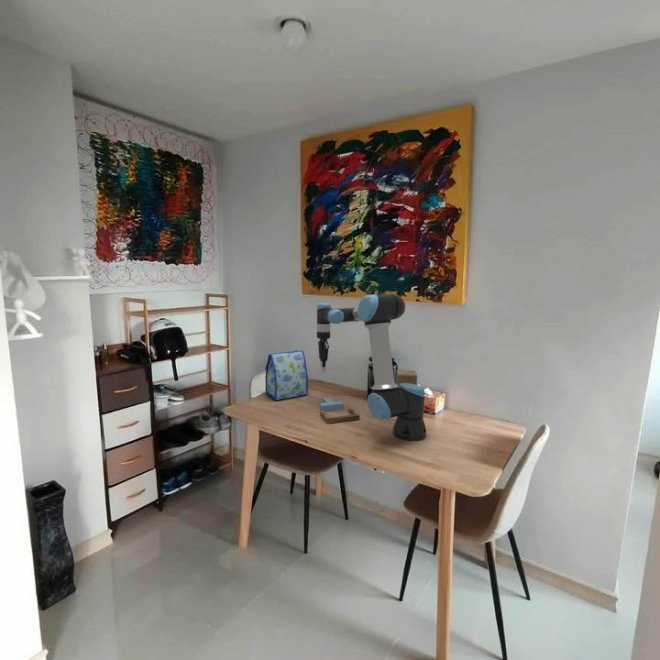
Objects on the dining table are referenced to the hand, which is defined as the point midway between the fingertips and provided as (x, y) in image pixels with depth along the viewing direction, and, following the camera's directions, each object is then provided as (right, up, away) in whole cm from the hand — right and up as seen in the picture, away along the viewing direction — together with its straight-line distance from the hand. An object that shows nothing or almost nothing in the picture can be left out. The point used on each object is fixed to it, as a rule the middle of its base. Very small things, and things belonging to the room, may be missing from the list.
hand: (323, 372), depth 219 cm
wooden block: (+45, -19, -8) cm, 49 cm away
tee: (+4, -18, -9) cm, 20 cm away
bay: (+9, -20, -23) cm, 32 cm away
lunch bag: (-22, -15, +10) cm, 28 cm away
